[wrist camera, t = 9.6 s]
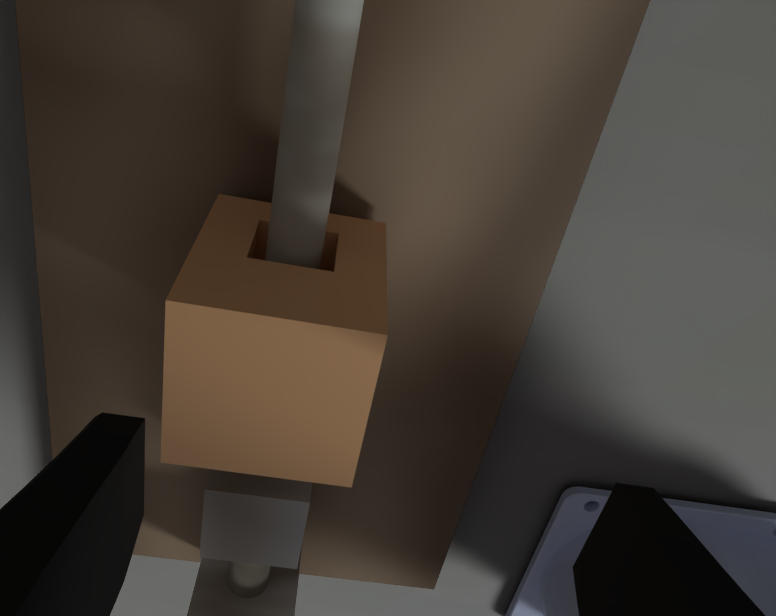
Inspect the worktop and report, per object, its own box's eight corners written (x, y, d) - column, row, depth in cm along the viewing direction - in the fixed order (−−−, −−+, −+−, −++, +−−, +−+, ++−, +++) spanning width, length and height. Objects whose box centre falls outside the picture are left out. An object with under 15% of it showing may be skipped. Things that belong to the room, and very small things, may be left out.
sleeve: (385, 223, 17) (388, 335, 13) (357, 354, 19) (351, 487, 15) (218, 193, 16) (165, 300, 12) (209, 332, 18) (160, 462, 14)
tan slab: (819, -539, 11) (1098, -802, 7) (431, 561, 26) (442, 702, 21) (-12, -808, 10) (-328, -1361, 5) (72, 517, 24) (5, 659, 20)
